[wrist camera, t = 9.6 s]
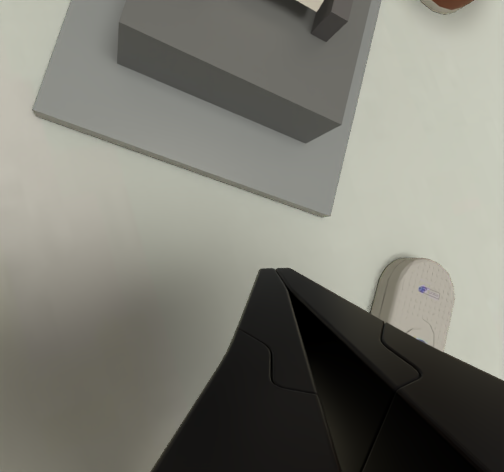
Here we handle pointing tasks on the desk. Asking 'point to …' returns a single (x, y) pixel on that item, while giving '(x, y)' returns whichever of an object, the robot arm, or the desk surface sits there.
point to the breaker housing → (218, 87)
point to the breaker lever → (312, 4)
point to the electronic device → (416, 299)
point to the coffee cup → (445, 5)
